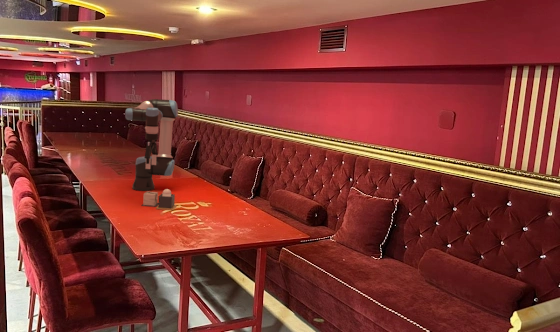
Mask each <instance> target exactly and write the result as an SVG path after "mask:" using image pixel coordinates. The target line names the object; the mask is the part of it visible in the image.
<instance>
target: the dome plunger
mask: <svg viewBox="0 0 560 332" xmlns="http://www.w3.org/2000/svg"><path fill="white" fill-rule="evenodd" d="M162 194H163V195H162V196H167V197H171V194H172V191H171V189H168V188H165V189H164V190H162Z"/></svg>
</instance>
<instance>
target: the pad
mask: <svg viewBox="0 0 560 332" xmlns="http://www.w3.org/2000/svg"><path fill="white" fill-rule="evenodd" d="M141 207H150V208H151V207H152V208H157V207H158V203H157V204H156V205H155V206H151V205H143V203H142V204H141Z"/></svg>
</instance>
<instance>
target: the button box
mask: <svg viewBox="0 0 560 332" xmlns="http://www.w3.org/2000/svg"><path fill="white" fill-rule="evenodd" d="M162 195H163V193H160V194H159V195H158V205H157V206H156V207H155V209H156V210H161V211H162V210H164V211H173V210H174V209H175V208H176V207H177V204H175V201H176V200H175V199H176V198H175V197H176V196H175V194H174V193H173V194H172V193H171V197H167V196H162Z"/></svg>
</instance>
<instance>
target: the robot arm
mask: <svg viewBox="0 0 560 332" xmlns="http://www.w3.org/2000/svg"><path fill="white" fill-rule="evenodd" d="M178 108H179V107H178V103H177V102H176V101H175V100H173V99H161V98H151V99H147V100H145V101H143V102H141V103H140V104H139V105H138V106H136V107H134V108H133V107H129V108H126V109H125V113H124V117H125V120H127V121H136V122H137V121H139V122H145V127H144V129H145V135H144V137H145V140H148V141H146V145H145V146H146V147H145V153H144V156H139V157H137V158H136V160H135V165H134V166H135V175H134V176H135V178H134V181H133V183H132V190H135V191H139V192H140V191H141V192H150V191H153V190H155V183H154V179H153V176H163V177H167V176H169V177H171V176H172V175H173V172H174V169H175V160H174V159H173V158H174V157H173V156H172V140H173V139H172V138H173V124H174V121H175V120H176V118H178V116H179V114H178V113H179V111H178V110H179V109H178ZM159 123H160V125H159ZM157 140H158V141H159V142H158V145H157ZM157 146H158V147H157Z"/></svg>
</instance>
